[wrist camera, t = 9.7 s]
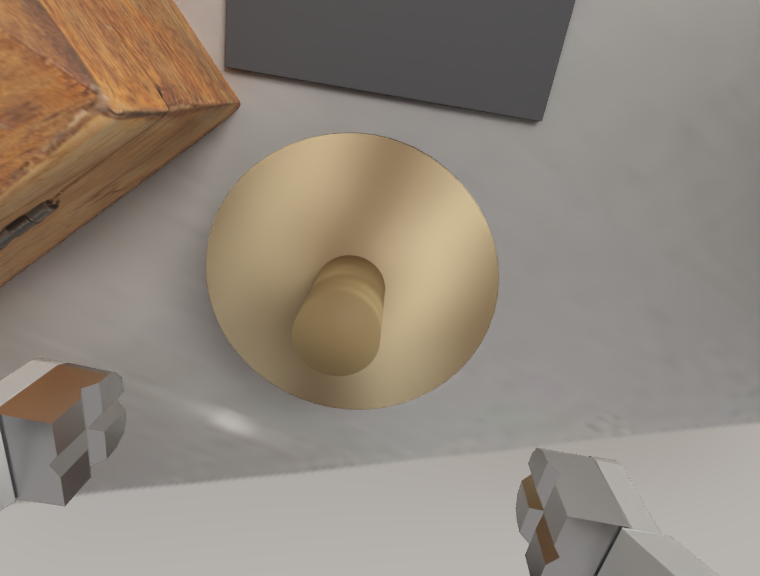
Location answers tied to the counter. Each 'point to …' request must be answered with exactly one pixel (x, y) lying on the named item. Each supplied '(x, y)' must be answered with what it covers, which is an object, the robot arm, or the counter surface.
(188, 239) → the counter surface
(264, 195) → the lid
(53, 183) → the wooden box
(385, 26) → the mat
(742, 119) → the counter surface
